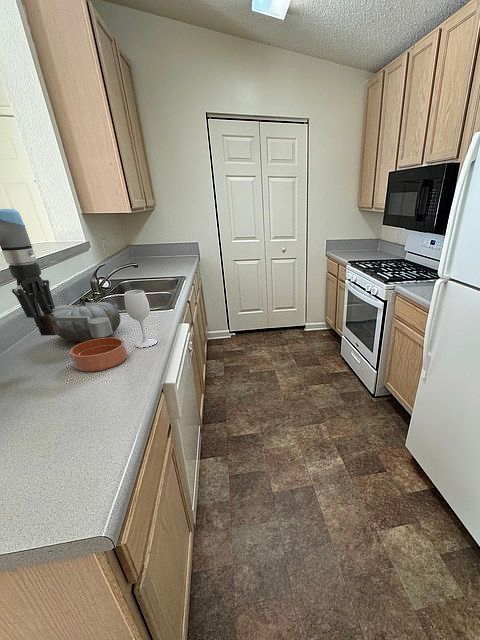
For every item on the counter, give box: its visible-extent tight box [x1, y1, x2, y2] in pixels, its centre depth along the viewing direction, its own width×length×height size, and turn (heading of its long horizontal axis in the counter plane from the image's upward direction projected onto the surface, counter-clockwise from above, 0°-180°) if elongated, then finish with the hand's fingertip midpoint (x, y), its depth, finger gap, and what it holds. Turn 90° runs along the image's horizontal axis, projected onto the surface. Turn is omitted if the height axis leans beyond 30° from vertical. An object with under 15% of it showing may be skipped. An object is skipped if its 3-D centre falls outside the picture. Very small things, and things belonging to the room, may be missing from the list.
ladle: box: [38, 313, 114, 338], centre depth 112 cm, size 24×6×7 cm, turn 89°
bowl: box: [69, 336, 128, 373], centre depth 117 cm, size 17×17×6 cm
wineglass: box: [123, 289, 158, 349], centre depth 128 cm, size 9×9×21 cm
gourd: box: [51, 297, 121, 343], centre depth 136 cm, size 25×25×17 cm
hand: (49, 333), depth 114 cm, fingers closed on ladle, 2 cm apart
